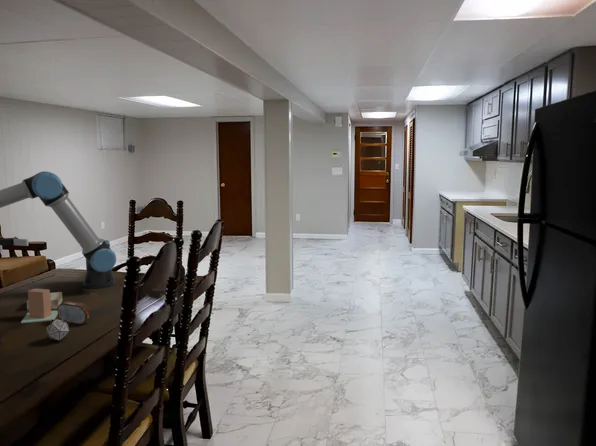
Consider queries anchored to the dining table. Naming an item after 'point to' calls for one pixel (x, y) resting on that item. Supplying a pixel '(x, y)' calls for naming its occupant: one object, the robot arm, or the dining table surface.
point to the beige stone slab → (52, 300)
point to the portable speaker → (74, 312)
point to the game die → (57, 329)
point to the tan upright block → (39, 303)
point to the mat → (32, 319)
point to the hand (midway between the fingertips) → (15, 245)
